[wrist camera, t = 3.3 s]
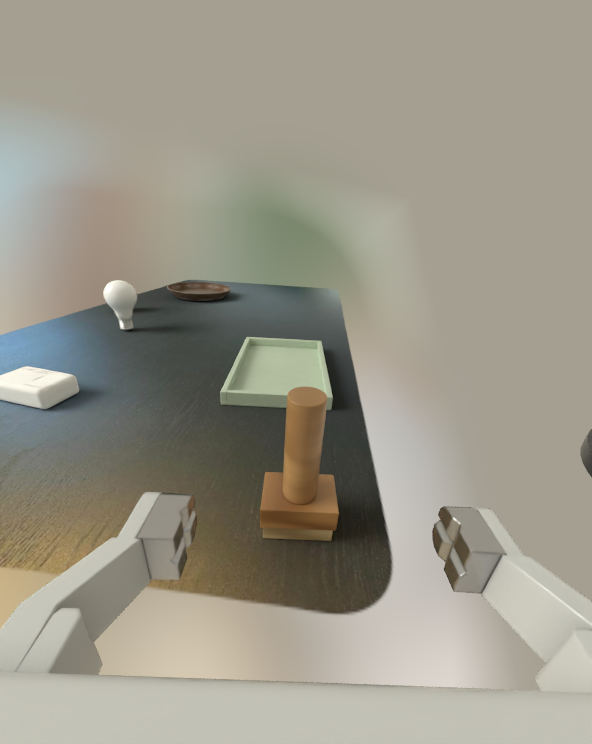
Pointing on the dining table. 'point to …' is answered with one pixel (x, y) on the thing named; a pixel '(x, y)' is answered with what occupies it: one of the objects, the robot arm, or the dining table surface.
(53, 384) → the soap
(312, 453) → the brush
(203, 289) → the plant saucer
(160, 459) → the dining table surface
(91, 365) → the dining table surface
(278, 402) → the tray
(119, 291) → the lightbulb
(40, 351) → the dining table surface
